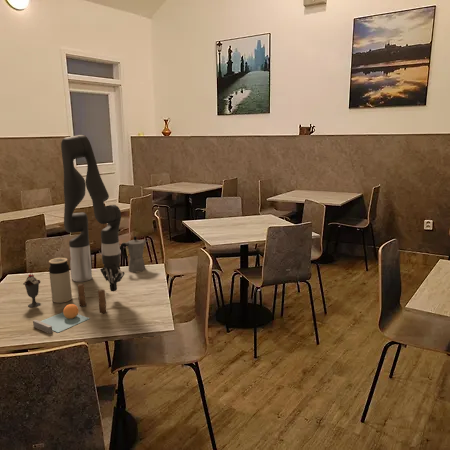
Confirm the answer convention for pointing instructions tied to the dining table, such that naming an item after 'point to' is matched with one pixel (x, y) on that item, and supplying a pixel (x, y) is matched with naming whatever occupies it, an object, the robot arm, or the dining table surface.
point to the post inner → (81, 295)
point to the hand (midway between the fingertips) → (113, 290)
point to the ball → (70, 311)
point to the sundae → (32, 289)
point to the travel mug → (60, 280)
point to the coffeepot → (135, 254)
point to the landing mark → (63, 322)
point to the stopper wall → (42, 326)
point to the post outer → (102, 301)
